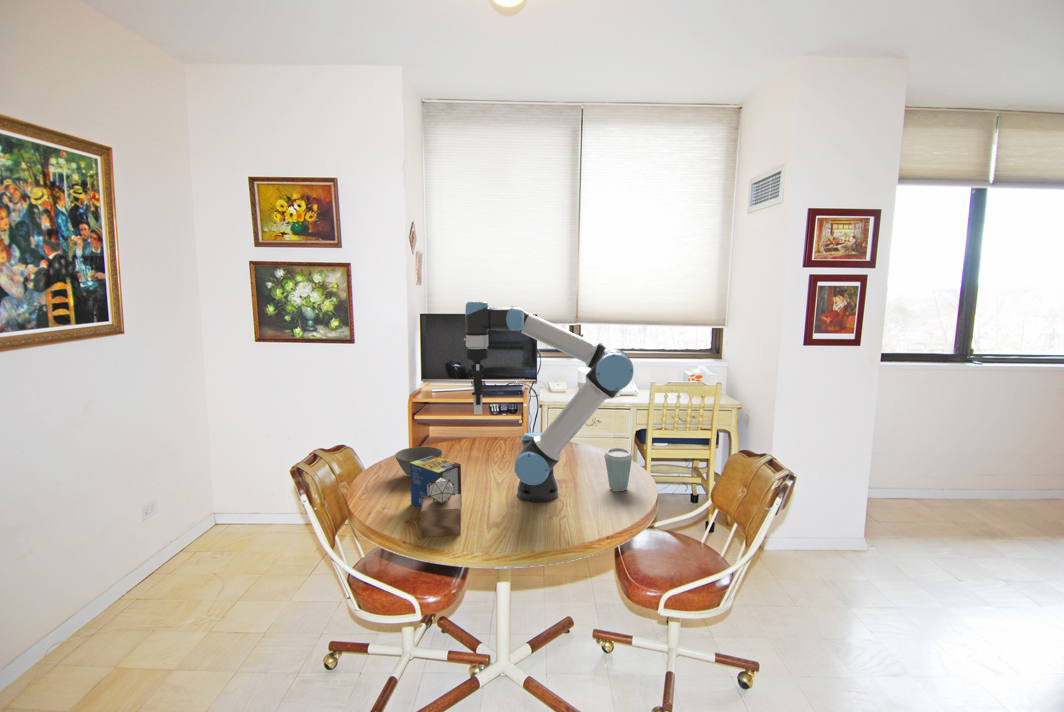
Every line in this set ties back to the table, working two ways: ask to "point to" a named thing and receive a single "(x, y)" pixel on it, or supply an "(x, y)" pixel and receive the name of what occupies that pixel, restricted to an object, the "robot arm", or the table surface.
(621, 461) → the disposable coffee cup
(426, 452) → the bowl
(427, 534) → the walnut block
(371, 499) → the table surface
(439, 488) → the game die
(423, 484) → the protein box
